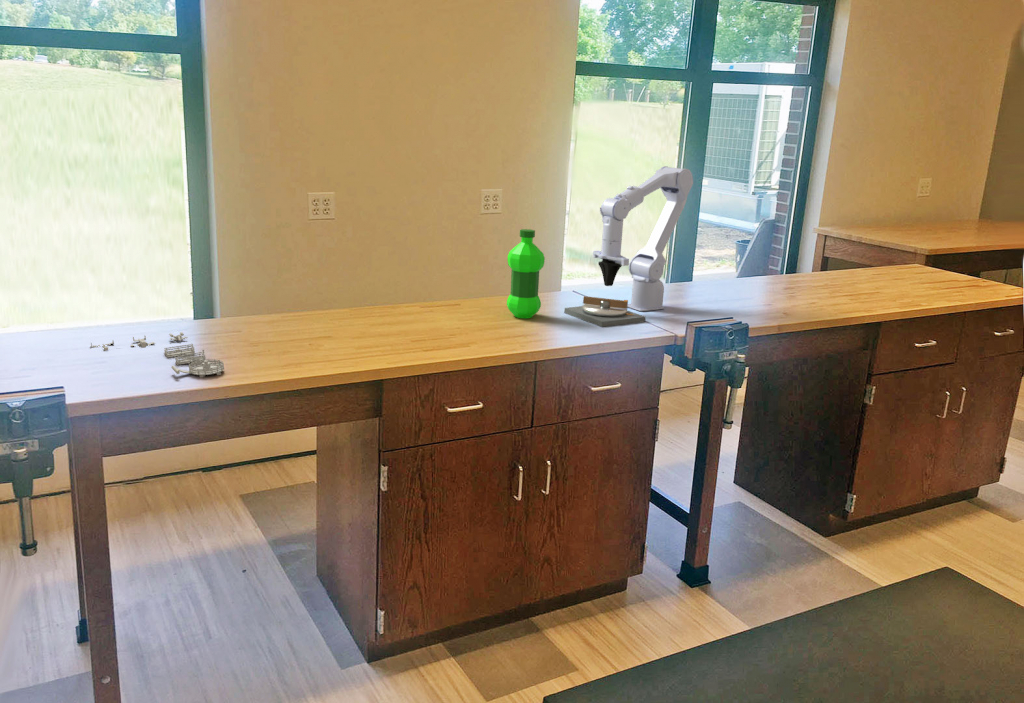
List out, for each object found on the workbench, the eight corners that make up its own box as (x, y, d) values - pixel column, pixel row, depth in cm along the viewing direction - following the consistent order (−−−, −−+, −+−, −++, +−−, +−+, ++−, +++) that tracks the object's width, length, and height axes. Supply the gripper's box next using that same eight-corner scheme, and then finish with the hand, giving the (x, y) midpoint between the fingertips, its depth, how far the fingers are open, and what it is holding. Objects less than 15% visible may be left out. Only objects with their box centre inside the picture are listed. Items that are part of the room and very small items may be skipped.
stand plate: (607, 308, 270) (607, 302, 270) (645, 321, 256) (646, 315, 255) (564, 312, 262) (564, 307, 261) (601, 326, 247) (602, 321, 247)
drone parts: (113, 395, 179) (111, 380, 178) (86, 353, 207) (84, 339, 206) (228, 375, 191) (227, 361, 190) (188, 338, 219) (186, 325, 218)
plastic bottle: (510, 321, 249) (514, 233, 242) (502, 312, 259) (506, 227, 252) (544, 320, 251) (549, 233, 245) (535, 311, 261) (539, 227, 254)
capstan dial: (630, 309, 262) (631, 296, 261) (622, 318, 250) (623, 305, 249) (588, 304, 266) (589, 291, 265) (577, 313, 254) (578, 299, 253)
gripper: (586, 236, 262) (583, 281, 266) (617, 244, 250) (613, 291, 254) (604, 235, 266) (601, 280, 269) (636, 243, 254) (632, 289, 258)
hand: (608, 285), depth 262 cm, fingers closed
